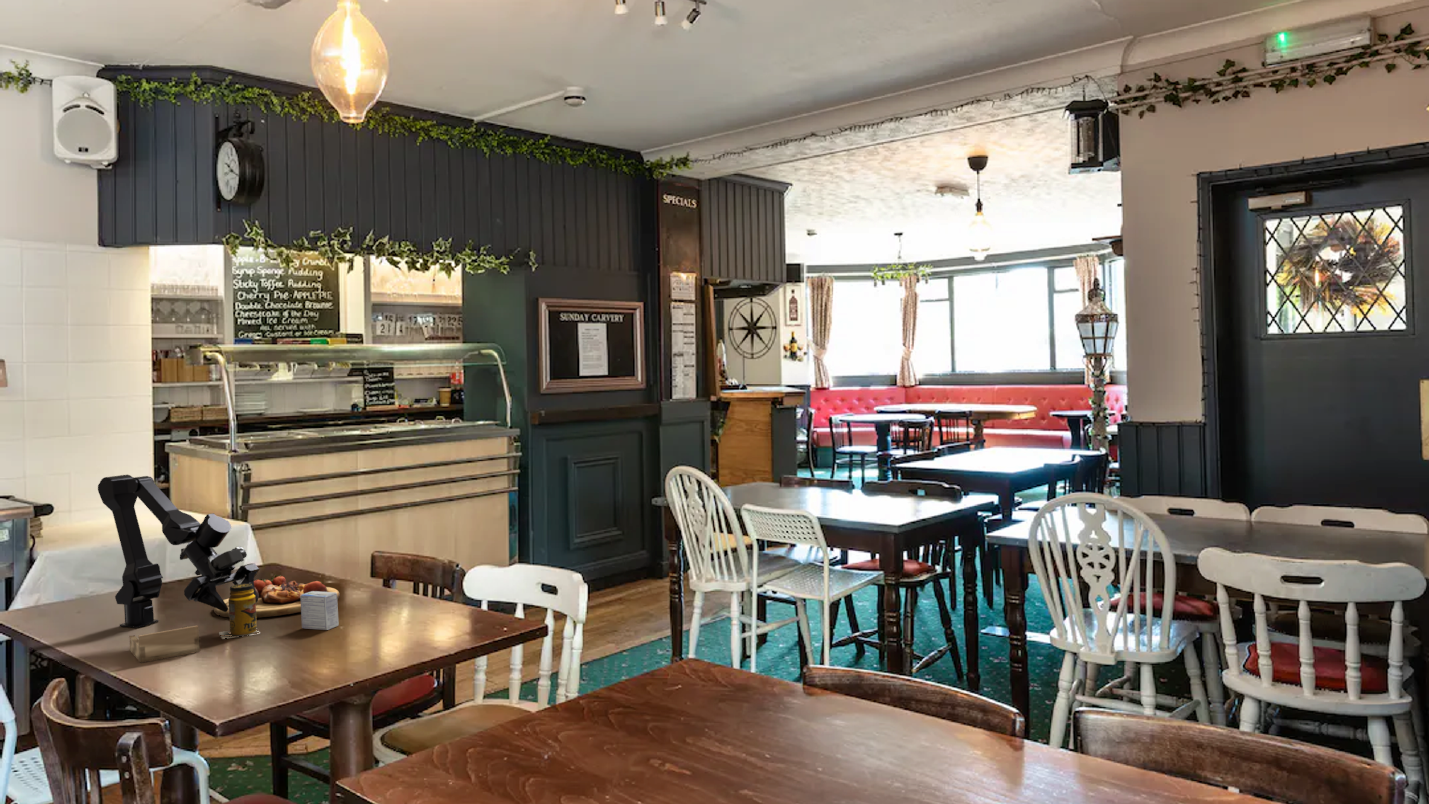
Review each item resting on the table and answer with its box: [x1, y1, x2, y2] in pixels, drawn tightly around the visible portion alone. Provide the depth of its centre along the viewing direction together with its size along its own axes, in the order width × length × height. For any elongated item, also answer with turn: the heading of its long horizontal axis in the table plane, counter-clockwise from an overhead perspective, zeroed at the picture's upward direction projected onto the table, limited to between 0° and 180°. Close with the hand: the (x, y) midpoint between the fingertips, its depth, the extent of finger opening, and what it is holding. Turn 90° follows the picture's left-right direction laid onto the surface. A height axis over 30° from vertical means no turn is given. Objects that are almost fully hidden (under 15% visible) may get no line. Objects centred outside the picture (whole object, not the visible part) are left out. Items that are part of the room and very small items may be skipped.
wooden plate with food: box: [213, 574, 341, 619], centre depth 272 cm, size 32×32×8 cm
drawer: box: [128, 625, 201, 664], centre depth 228 cm, size 13×12×6 cm
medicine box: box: [300, 591, 339, 631], centre depth 246 cm, size 8×4×9 cm, turn 71°
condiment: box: [218, 584, 261, 640], centre depth 242 cm, size 7×8×12 cm
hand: (242, 606), depth 242 cm, fingers open, 9 cm apart
